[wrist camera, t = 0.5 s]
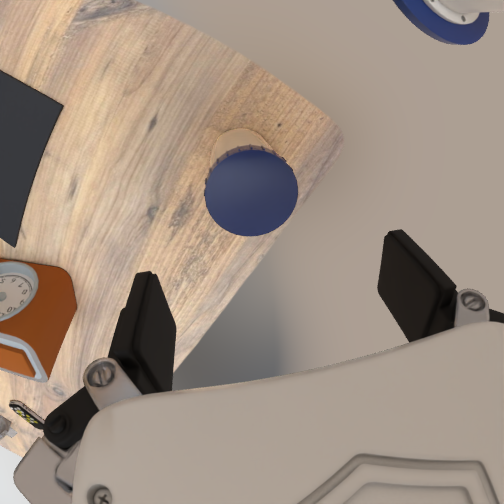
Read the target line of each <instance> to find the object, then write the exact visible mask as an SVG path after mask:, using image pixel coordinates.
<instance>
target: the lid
mask: <svg viewBox="0 0 504 504" xmlns="http://www.w3.org/2000/svg"><path fill="white" fill-rule="evenodd" d="M205 185H206V188H205V190H204V196H205V201H206V207H207V209H208V211H209V213H210V215H211V216H212V218H213V219H214V221H215V222H216V223H217V224H218V225H219V226H221V227H222V228H223V229H225V230H227V231H229V232H231V233H233V234H236V235H241V236H259V235H263V234H266V233H269V232H271V231H273V230H275V229H276V228H278V227H279V226H281V225H282V224H283V223H284V222H285V221H286V220H287V219H288V218H289V216H290V215H291V213H292V212H293V210H294V208H295V205H296V202H297V197H298V186H297V180H296V177H295V175H294V173H293V169H292V168H291V167H290V166H289V165H288V164H287V163H286V160H285V159H284V158H283V157H281V156H279V155H278V154H277V153H276V152H275V151H274V150H270V149H268V148H265V147H264V146H263V145H261V146H257V145H251V144H249V145H245V146H240V147H239V146H237V147H236V148H233V149H231V150H229V151H226V153H224V154H223V155H221V156H220V157H219V158H217V159H216V161H215V163H214V164H213V165H212V167H211V168H209V173H208V176H207V178H206V179H205Z"/></svg>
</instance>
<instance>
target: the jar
mask: <svg viewBox="0 0 504 504" xmlns="http://www.w3.org/2000/svg"><path fill="white" fill-rule="evenodd" d="M249 144H251V145H257V146H261V145H263V146H264V147H265V148H268V149H270V150H273V149H272V148H271V146H270V145H269V144H268V143H267V142H266V140H265V139H264V138H263V137H262V136H261V135H260V134H258V133H257V132H255V131H253V130H250V129H246V128H235V129H231V130H229V131H227V132H225V133H223V134H222V135H220V136H219V137H218V138H217V140H216V141H215V142H214V144H213V146H212V149H211V153H210V163H209V168H211V167H212V165H213V164H214V163H215V161H216V159H217V158H219V157H220V156H221V155H223V154H224V153H226V151H229V150H231V149H233V148H236V147H237V146H239V147H240V146H245V145H249Z"/></svg>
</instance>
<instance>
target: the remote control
mask: <svg viewBox="0 0 504 504" xmlns="http://www.w3.org/2000/svg"><path fill="white" fill-rule="evenodd" d="M9 407H10V408H11V409H12V410H14V411H15V412H16V413H17V414H18V415H19V416H21V417H22V418H23V419H25V420H26V421H27V422H29V423H30V424H31V425H33V426H34V427H35V428H37V429H42V430H43V425H44V422H45V421H44V420H43V419H41V418H40V417H39V416H37V415H36V414H35V413H34V412H32V411H31V410H30V409H29V408H27V407H26V406H25V405H24V404H23V403H21V402H19V401H10V403H9Z"/></svg>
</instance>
